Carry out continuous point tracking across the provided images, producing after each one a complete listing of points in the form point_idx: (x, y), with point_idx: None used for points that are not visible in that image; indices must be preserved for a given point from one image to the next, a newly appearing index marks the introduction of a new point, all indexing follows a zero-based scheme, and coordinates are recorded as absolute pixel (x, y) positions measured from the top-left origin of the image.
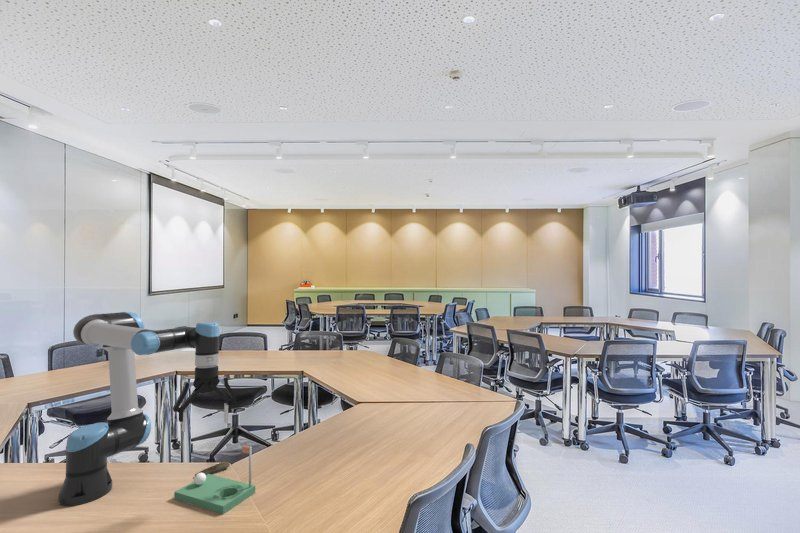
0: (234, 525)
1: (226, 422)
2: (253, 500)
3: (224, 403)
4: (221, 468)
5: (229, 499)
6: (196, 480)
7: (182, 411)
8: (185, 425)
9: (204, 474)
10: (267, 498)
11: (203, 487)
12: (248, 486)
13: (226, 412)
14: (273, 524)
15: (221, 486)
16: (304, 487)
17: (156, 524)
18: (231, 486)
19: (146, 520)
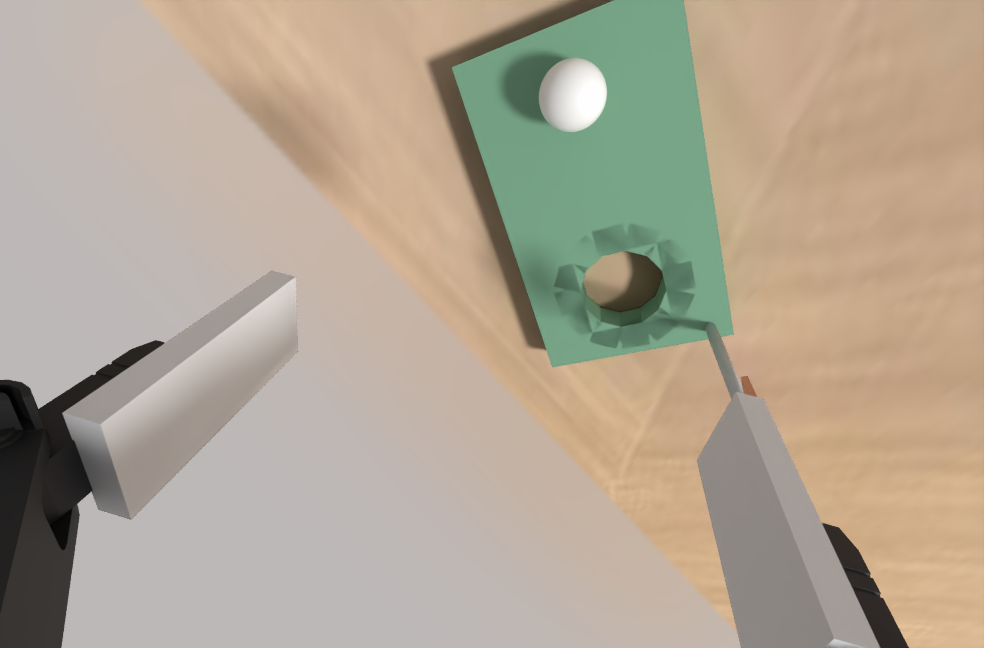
0: (548, 426)
1: (707, 469)
2: (680, 359)
3: (831, 641)
4: None
5: (592, 344)
6: (544, 116)
7: (65, 520)
8: (259, 389)
9: (591, 113)
10: (722, 389)
11: (571, 146)
12: (710, 317)
13: (733, 582)
14: (625, 502)
15: (634, 213)
16: (874, 439)
17: (366, 226)
18: (663, 253)
19: (340, 166)
